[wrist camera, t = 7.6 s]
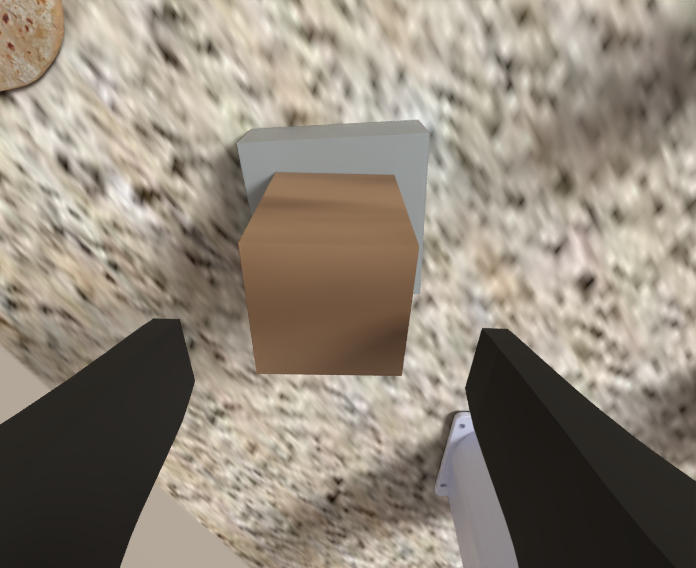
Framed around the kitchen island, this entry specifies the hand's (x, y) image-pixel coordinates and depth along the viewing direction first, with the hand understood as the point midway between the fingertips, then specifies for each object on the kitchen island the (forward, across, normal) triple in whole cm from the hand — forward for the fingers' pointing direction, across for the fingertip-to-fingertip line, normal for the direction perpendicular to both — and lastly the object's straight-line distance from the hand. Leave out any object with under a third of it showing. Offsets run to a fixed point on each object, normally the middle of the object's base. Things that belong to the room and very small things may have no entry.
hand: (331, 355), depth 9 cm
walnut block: (+8, 0, 0) cm, 8 cm away
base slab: (+11, 0, 0) cm, 11 cm away
